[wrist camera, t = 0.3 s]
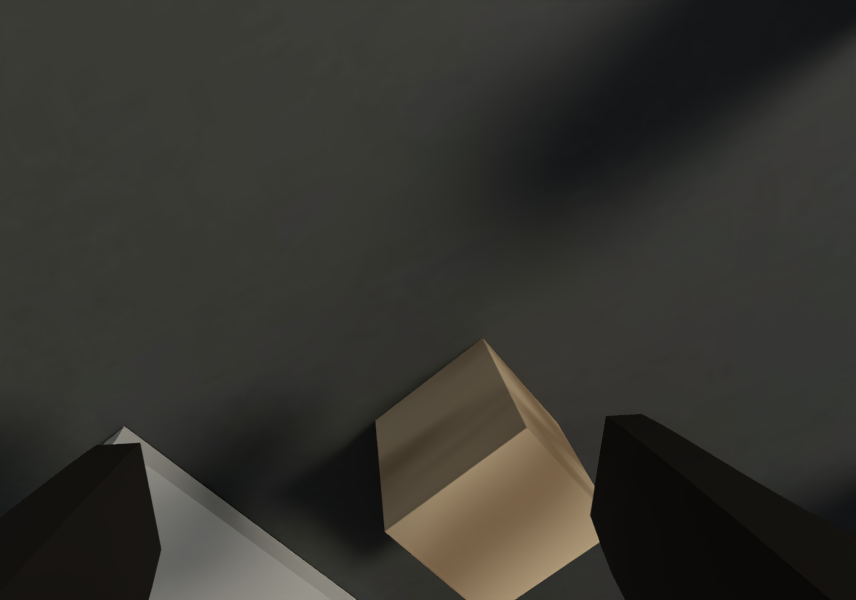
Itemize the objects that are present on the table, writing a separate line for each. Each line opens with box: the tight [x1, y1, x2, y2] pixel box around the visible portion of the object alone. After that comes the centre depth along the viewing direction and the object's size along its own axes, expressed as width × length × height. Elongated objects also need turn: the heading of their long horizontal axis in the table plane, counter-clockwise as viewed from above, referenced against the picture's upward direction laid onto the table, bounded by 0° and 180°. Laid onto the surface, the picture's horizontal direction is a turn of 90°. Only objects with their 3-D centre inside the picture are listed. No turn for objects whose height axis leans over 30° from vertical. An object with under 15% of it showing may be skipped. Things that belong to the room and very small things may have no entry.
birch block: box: [375, 338, 599, 600], centre depth 18 cm, size 4×4×5 cm
